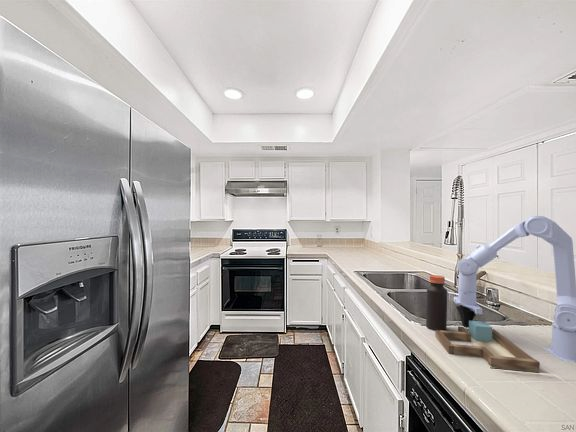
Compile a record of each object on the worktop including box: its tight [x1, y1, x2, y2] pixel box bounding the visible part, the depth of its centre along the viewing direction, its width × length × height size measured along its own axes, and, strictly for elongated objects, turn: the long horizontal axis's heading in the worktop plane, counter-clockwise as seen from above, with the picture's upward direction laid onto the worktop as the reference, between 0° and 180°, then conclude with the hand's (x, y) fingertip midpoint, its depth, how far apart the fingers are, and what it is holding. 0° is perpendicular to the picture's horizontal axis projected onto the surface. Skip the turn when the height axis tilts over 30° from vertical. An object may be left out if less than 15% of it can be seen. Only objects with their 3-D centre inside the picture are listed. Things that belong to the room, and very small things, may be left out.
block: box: [468, 320, 493, 342], centre depth 98 cm, size 5×5×5 cm
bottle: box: [425, 274, 448, 332], centre depth 106 cm, size 7×7×20 cm
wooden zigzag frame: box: [434, 326, 541, 374], centre depth 90 cm, size 21×22×3 cm
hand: (466, 326), depth 105 cm, fingers closed
